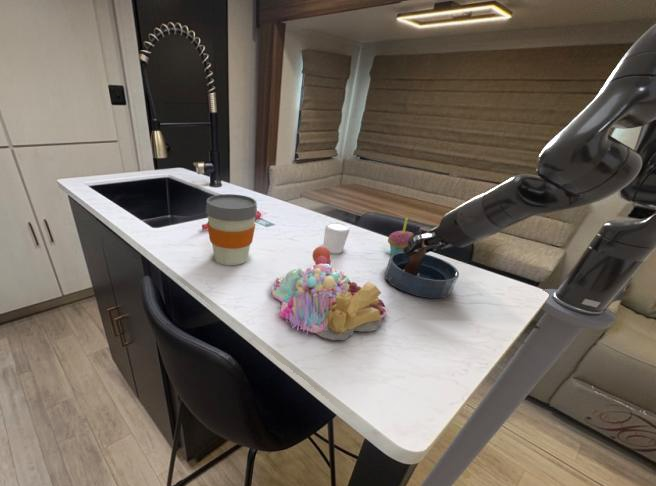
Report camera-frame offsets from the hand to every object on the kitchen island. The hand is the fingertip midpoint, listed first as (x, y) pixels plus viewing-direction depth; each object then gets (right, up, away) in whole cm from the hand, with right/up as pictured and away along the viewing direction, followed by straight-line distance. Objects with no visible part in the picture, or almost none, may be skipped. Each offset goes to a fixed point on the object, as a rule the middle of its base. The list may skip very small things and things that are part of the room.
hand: (411, 252), depth 73 cm
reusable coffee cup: (-44, 0, +9) cm, 45 cm away
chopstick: (-44, +17, +26) cm, 54 cm away
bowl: (+3, -7, +3) cm, 8 cm away
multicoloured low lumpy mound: (-23, -12, -7) cm, 27 cm away
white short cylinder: (-15, +3, +17) cm, 23 cm away
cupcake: (+5, +1, +17) cm, 17 cm away
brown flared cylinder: (0, -6, +1) cm, 6 cm away
